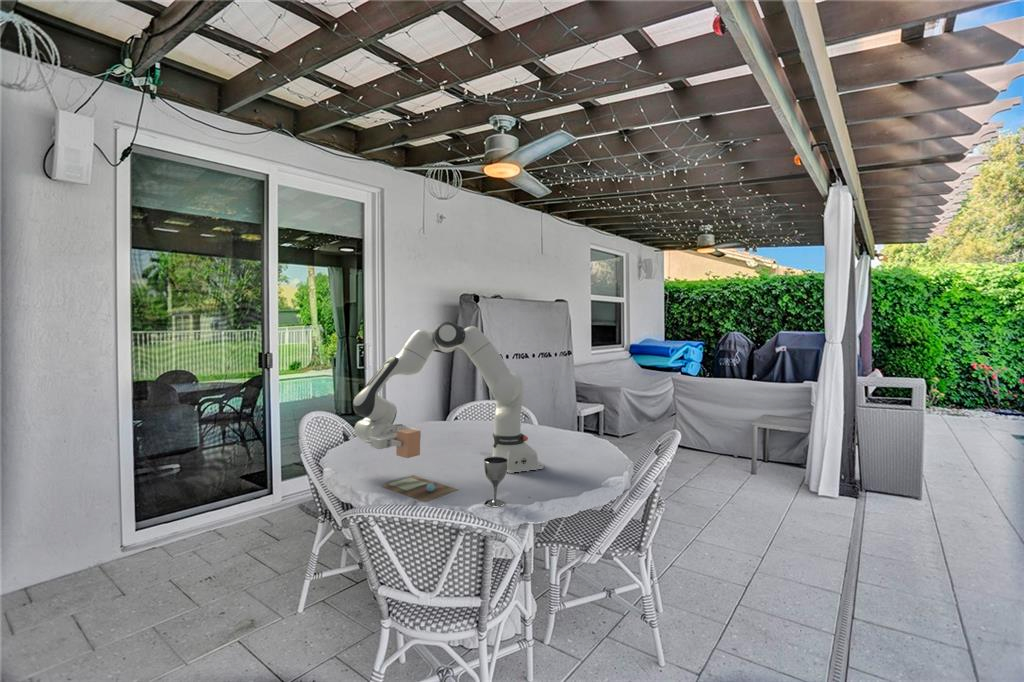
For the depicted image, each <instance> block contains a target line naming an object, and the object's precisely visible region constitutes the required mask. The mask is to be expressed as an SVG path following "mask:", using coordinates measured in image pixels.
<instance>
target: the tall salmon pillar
mask: <svg viewBox="0 0 1024 682" xmlns="http://www.w3.org/2000/svg"><path fill="white" fill-rule="evenodd" d="M415 429H416V428H415ZM415 429H411V428H408V429H403V430H398V431H397V441H400V440H401V441H403V442H404V443H403V446H400V447H399V446H395V447H396V448H395V449H396V454H395V455H396V456H398V457H401V458H403V459H409V458H414V457H417V456H420V455H421V439H420V431H421V430H420V429H418V430H415ZM419 430H420V431H419Z"/></svg>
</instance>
